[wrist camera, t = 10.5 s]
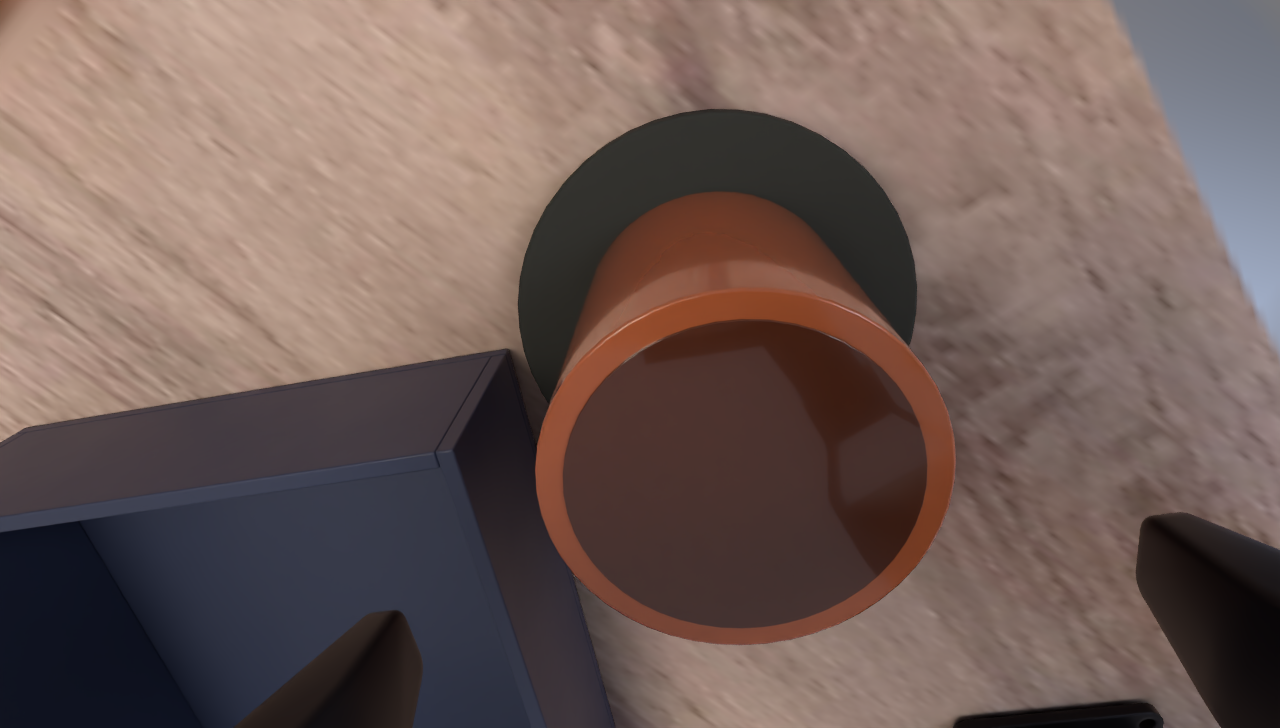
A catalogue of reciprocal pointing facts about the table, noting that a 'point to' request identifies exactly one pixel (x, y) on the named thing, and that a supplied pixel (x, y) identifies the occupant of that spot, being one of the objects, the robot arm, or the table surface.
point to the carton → (288, 554)
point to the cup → (739, 431)
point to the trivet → (696, 163)
